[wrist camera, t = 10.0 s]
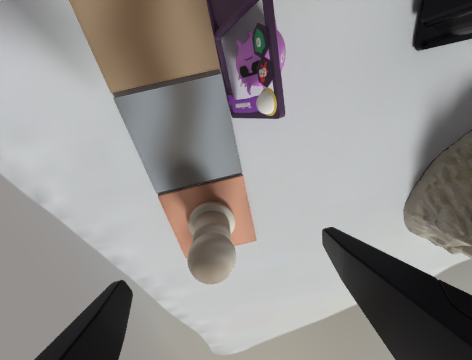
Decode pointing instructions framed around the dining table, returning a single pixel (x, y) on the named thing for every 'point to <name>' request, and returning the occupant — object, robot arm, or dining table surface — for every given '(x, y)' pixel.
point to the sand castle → (445, 200)
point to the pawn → (211, 242)
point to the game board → (171, 103)
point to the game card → (251, 58)
